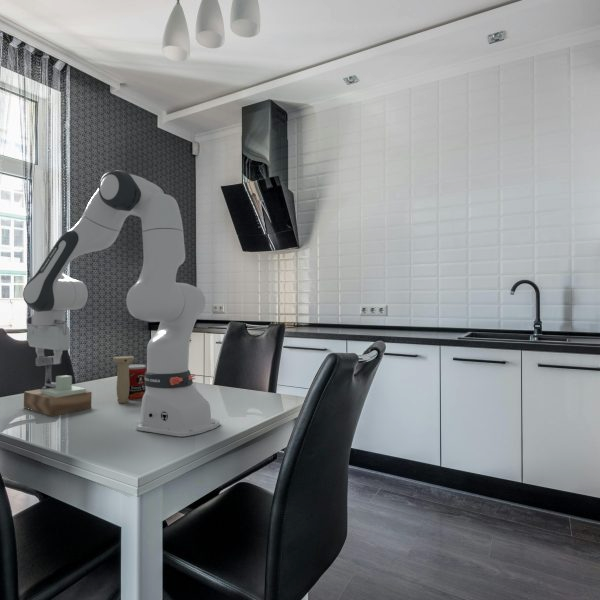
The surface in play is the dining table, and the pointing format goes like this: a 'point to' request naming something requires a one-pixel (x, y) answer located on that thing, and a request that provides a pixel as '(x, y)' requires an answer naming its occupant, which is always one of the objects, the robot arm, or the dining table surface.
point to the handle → (123, 377)
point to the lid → (63, 388)
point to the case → (56, 402)
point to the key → (47, 370)
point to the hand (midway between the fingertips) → (48, 362)
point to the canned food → (137, 381)
